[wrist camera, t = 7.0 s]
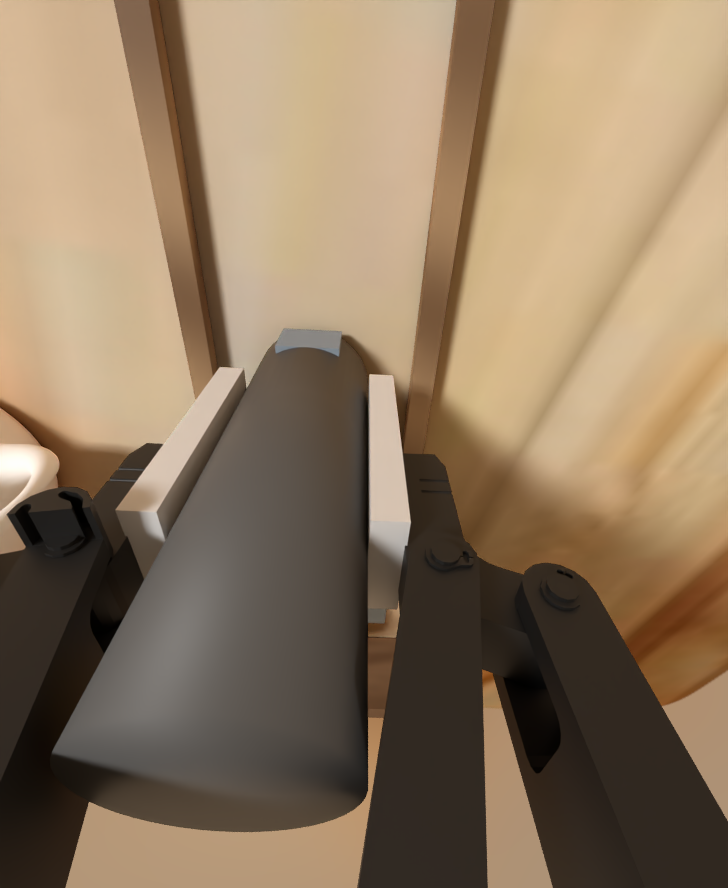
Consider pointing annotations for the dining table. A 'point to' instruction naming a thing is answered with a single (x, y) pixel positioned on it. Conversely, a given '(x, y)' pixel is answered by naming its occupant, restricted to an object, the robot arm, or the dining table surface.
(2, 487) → the mug
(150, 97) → the lane
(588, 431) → the dining table surface
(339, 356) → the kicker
